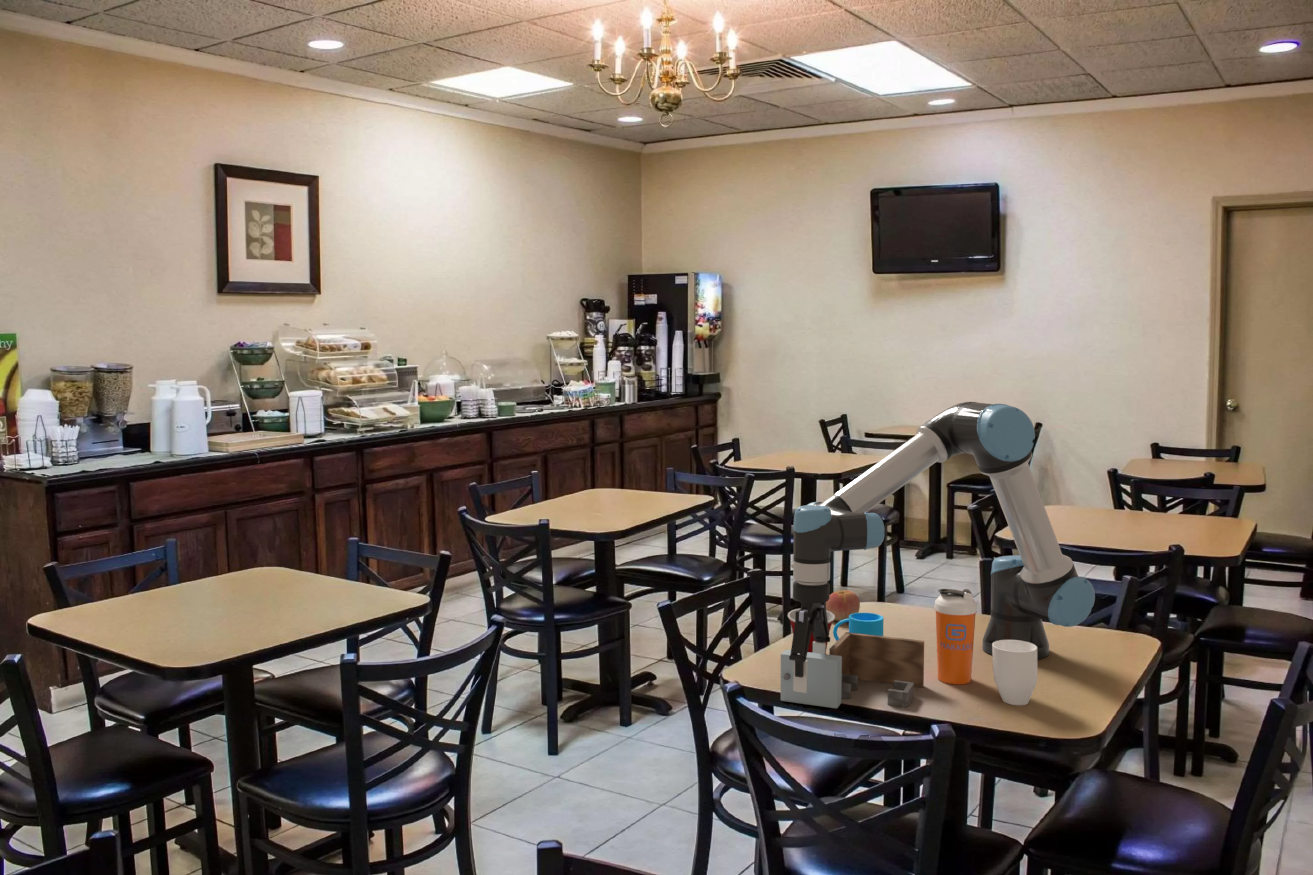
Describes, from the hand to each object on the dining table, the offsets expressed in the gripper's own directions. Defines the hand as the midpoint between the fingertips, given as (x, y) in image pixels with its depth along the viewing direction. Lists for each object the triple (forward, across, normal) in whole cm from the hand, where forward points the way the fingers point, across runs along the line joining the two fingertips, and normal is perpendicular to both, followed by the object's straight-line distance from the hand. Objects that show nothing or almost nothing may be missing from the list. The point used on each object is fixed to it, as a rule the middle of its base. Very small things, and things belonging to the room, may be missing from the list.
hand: (809, 681), depth 219 cm
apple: (+4, -64, -10) cm, 65 cm away
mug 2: (+4, -18, +38) cm, 43 cm away
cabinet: (+4, -12, +11) cm, 17 cm away
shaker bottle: (+4, -26, +25) cm, 37 cm away
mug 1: (+4, -40, 0) cm, 40 cm away
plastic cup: (+4, -24, -7) cm, 26 cm away
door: (+4, 0, 0) cm, 4 cm away
